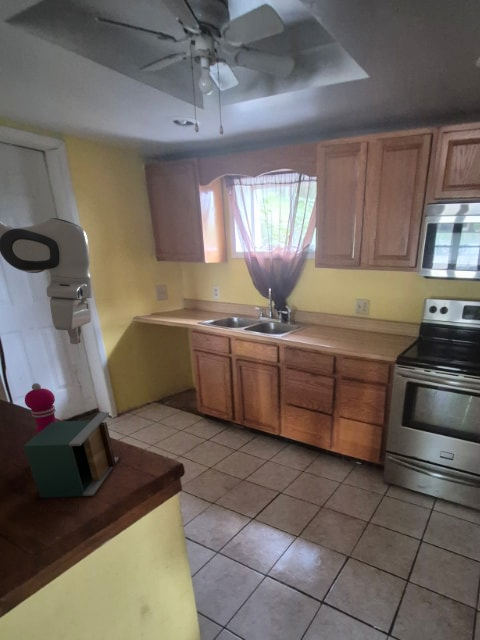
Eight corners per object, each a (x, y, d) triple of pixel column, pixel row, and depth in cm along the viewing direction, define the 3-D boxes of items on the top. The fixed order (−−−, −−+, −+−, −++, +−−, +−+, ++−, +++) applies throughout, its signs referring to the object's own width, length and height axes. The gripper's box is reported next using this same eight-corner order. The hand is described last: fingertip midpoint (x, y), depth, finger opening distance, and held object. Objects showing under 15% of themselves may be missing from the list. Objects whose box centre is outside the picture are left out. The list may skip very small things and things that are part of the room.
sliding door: (92, 480, 84) (81, 437, 80) (105, 463, 91) (95, 422, 86) (104, 480, 85) (93, 436, 80) (115, 463, 91) (106, 422, 86)
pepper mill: (68, 445, 100) (48, 376, 92) (76, 455, 96) (56, 383, 88) (36, 455, 96) (13, 383, 88) (43, 466, 91) (20, 391, 83)
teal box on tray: (40, 497, 80) (22, 445, 75) (73, 460, 94) (61, 413, 89) (93, 495, 81) (79, 443, 76) (119, 458, 95) (108, 412, 89)
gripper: (70, 287, 103) (73, 337, 107) (43, 289, 85) (48, 349, 88) (95, 289, 105) (97, 338, 109) (74, 291, 86) (78, 350, 90)
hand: (75, 343), depth 99 cm, fingers closed
